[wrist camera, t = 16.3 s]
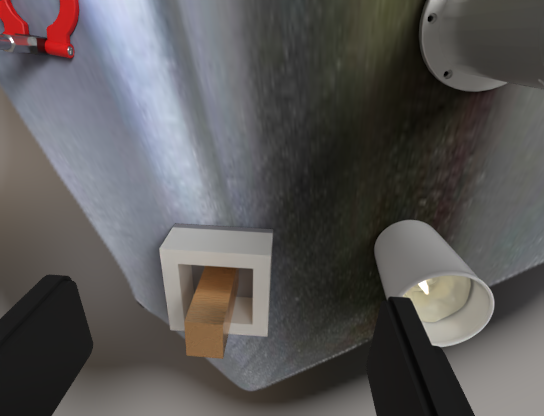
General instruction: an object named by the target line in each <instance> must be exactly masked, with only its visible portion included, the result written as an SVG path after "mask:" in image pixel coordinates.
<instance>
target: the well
mask: <svg viewBox="0 0 544 416" xmlns="http://www.w3.org/2000/svg"><path fill="white" fill-rule="evenodd" d="M272 248H273V229H262V228H244V227H227V226H210V225H193V224H176V223H175V224H174V226H173V228H172V229H171V231H170V232H169V234H168V236H167V237H166V239H165V240H164V242H163V244H162V245H161V247H160V248H159V251H160V259H161V266H162V273H163V280H164V287H165V295H166V302H167V309H168V316H169V324H170V330H177V331H185V327H184V321H185V318H186V316H187V313H188V310H189V308H190V305H191V302H192V300H193V297H194V294H195V292H196V289H197V286H198V284H199V281H200V279H201V276H202V273H203V271H204V268H205V266H219V267H235V268H239V286H238V291H237V296H236V300H235V305H234V310H233V314H232V319H231V324H230V329H229V333H228V334H236V335H251V336H265V337H267V335H268V322H269V310H270V292H271V270H272Z"/></svg>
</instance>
